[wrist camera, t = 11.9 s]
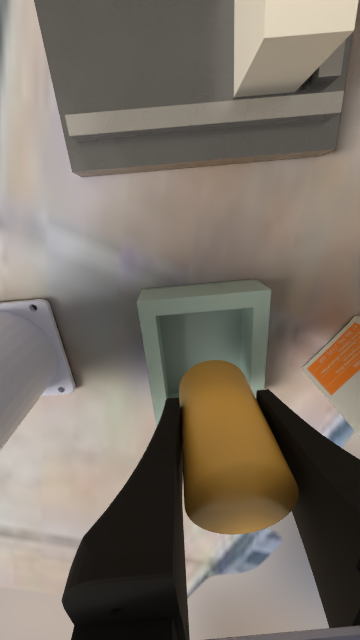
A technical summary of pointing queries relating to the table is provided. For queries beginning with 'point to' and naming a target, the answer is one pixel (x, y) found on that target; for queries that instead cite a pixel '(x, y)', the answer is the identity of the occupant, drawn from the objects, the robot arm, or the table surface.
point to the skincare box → (340, 372)
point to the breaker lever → (286, 41)
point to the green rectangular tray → (203, 332)
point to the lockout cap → (230, 454)
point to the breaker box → (174, 89)
